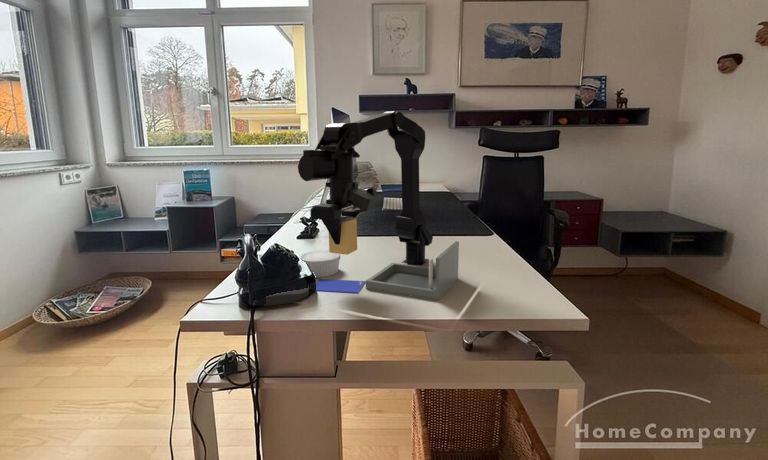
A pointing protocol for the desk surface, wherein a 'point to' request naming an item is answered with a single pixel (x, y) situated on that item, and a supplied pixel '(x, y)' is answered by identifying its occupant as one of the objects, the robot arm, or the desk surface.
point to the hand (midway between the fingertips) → (343, 241)
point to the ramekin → (322, 262)
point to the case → (419, 276)
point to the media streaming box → (286, 297)
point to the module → (345, 237)
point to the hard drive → (339, 286)
